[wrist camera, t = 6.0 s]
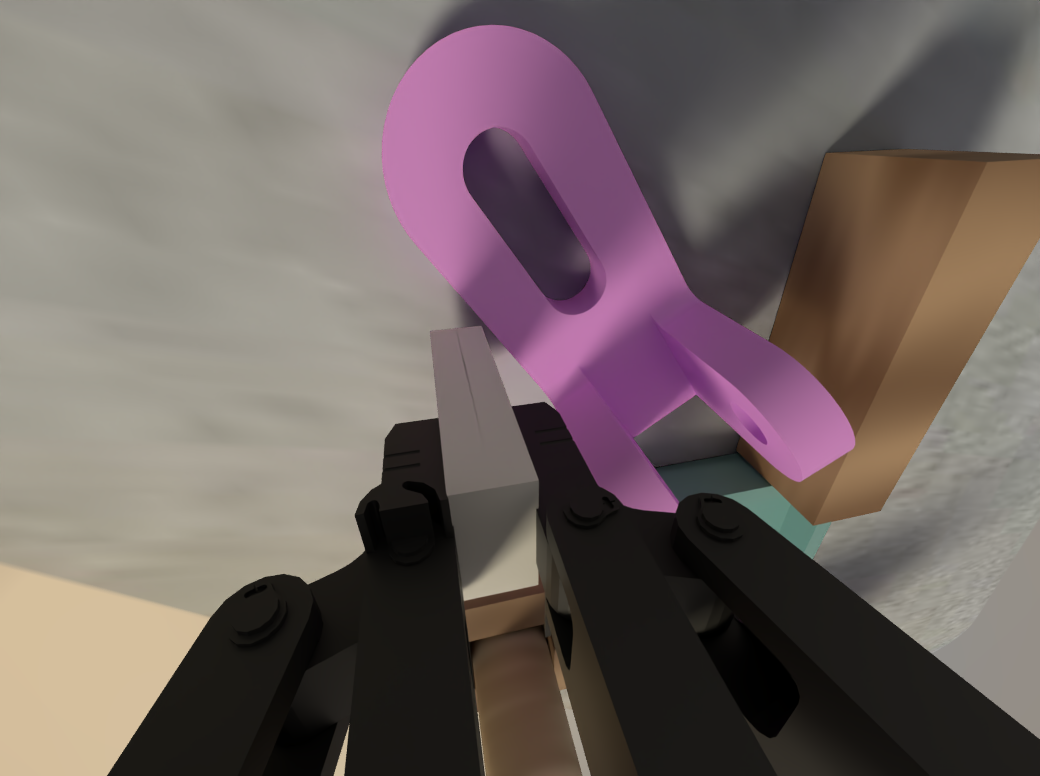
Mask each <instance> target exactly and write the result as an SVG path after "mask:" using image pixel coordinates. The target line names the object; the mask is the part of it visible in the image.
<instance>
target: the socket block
mask: <svg viewBox="0 0 1040 776" xmlns="http://www.w3.org/2000/svg"><path fill="white" fill-rule="evenodd" d="M464 607H465V615H466V622H467V629H468V637H469V645H470V654H471V662H472V671H473V679H474V688H475V696H476V705H477V712H478V703H477V695H476V686H475V678H474V669H473V661H472V652H471V644H470V641H475V640H479V639H483V638H487V637H491V636H496V635H500V634H504V633H508V632H513V631H517V630H521V629H525V628H530V627H534V626H538V625H542V626H543V630H544V634H545V627H544V617H545V591H544V588H543V585H542V581H541V578H540V574H539V571H538V585H536V586H531V587H527V588H522V589H517V590H513V591H508V592H503V593H498V594H494V595H489V596H484V597H480V598H475V599H470V600H466V601H464ZM546 641H547V645H548V649H549V652H550V656H551V660H552V664H553V667H554V671H555V675H556V679H557V682H558V686H559V690H563V689H566V685H565V681H564V677H563V674H562V670H561V667H560V663H559V660H558V656H557V652H556V649H555V645H554V642H553V638H552V635H551V636H548V637H546Z"/></svg>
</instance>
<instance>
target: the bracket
mask: <svg viewBox="0 0 1040 776" xmlns="http://www.w3.org/2000/svg"><path fill="white" fill-rule="evenodd" d="M494 127H495V128H499V129H502V130H504V131H506V132H508V133H509V134H511V135H512V136H513V137H514V138H515V139H516V141H517V142H518V143H519V145H520V147H521V148H522V150H523V151H524V153H525V155H526V156H527V158H528V160H529V161H530V163H531V164H532V166H533V168H534V169H535V171H536V172H537V174H538V176H539V177H540V179H541V181H542V182H543V184H544V185H545V187H546V189H547V190H548V192H549V193H550V195H551V197H552V198H553V200H554V202H555V203H556V205H557V206H558V208H559V210H560V211H561V213H562V214H563V216H564V218H565V219H566V221H567V223H568V224H569V226H570V227H571V229H572V231H573V232H574V234H575V235H576V237H577V239H578V240H579V242H580V243H581V245H582V247H583V248H584V250H585V252H586V253H587V255H588V257H589V260H590V265H591V271H590V276H589V279H588V282H587V284H586V285H585V287H584V288H583V289H582V290H581V291H580V292H579V293H578V294H577V295H575V296H574V297H572V298H569V299H566V300H553V299H550V298H548V297H546V296H545V295H543V293H542V292H541V291H540V289H539V288H538V286H537V285H536V284H535V282H534V281H533V280H532V278H531V277H530V276H529V274H528V273H527V271H526V270H525V269H524V267H523V266H522V265H521V263H520V262H519V261H518V259H517V258H516V256H515V255H514V254H513V252H512V251H511V250H510V248H509V247H508V246H507V244H506V243H505V241H504V240H503V239H502V237H501V236H500V235H499V233H498V232H497V231H496V229H495V228H494V226H493V225H492V224H491V222H490V221H489V220H488V218H487V217H486V216H485V214H484V213H483V211H482V210H481V209H480V207H479V206H478V205H477V203H476V202H475V201H474V199H473V198H472V196H471V195H470V193H469V192H468V190H467V188H466V185H465V182H464V178H463V160H464V156H465V153H466V150H467V148H468V146H469V144H470V143H471V142H472V140H473V139H474V138H475V137H476V136H477V135H478V134H480V133H481V132H483V131H485V130H487V129H490V128H494ZM382 164H383V173H384V179H385V185H386V188H387V192H388V195H389V199H390V201H391V204H392V206H393V209H394V211H395V213H396V215H397V217H398V219H399V221H400V223H401V225H402V226H403V228H404V229H405V231H406V233H407V234H408V235H409V237H410V238H411V239H412V240H413V242H414V243H415V244H416V245H417V247H418V248H419V249H420V250H421V251H422V252H423V253H424V255H425V256H426V257H427V258H428V259H429V260H430V261H431V263H432V264H433V265H434V266H435V267H436V268H437V269H438V271H439V272H440V273H441V274H442V275H443V276H444V277H445V279H446V280H447V281H448V282H449V283H450V284H451V286H452V287H453V288H454V289H455V290H456V291H457V292H458V294H459V295H460V296H461V297H462V298H463V299H464V300H465V302H466V303H467V304H468V305H469V306H470V307H471V308H472V310H473V311H474V312H475V313H476V314H477V315H478V316H479V318H480V319H481V320H482V321H483V322H484V323H485V324H486V326H487V327H488V328H489V329H490V330H491V331H492V333H493V334H494V335H495V336H496V337H497V338H498V339H499V341H500V342H501V343H502V344H503V345H504V346H505V347H506V349H507V350H508V351H509V352H510V353H511V354H512V355H513V357H514V358H515V359H516V360H517V361H518V362H519V363H520V365H521V366H522V367H523V368H524V369H525V370H526V371H527V373H528V374H529V375H530V376H531V377H532V378H533V380H534V381H535V382H536V383H537V384H538V385H539V386H540V388H541V389H542V390H543V391H544V392H545V394H546V395H547V396H548V398H549V399H550V400H551V402H552V403H553V405H554V407H555V408H556V410H557V411H558V412H559V413H560V415H561V417H562V419H563V421H564V423H565V424H566V426H567V429H568V430H569V432H570V434H571V436H572V438H573V441H575V443H576V445H577V447H578V449H579V451H580V453H581V454H582V456H583V458H584V460H585V462H586V464H587V466H588V468H589V470H590V471H591V473H592V475H593V477H594V479H595V481H596V483H597V484H598V486H599V487H602V488H604V489H606V490H607V491H609V492H611V493H612V494H614V495H615V496H616V497H617V498H618V499H619V500H620V502H621V503H622V504H623V505H624V506H627V507H630V508H634V509H640V510H647V511H659V512H671V513H676V510H677V507H678V504H679V501H678V500H677V498H676V497H675V496H674V494H673V493H672V491H671V490H670V489H669V487H668V486H667V484H666V483H665V482H664V480H663V479H662V478H661V476H660V475H659V473H658V472H657V471H656V469H655V468H654V466H653V465H652V464H651V462H650V461H649V459H648V458H647V457H646V455H645V454H644V452H643V451H642V450H641V448H640V447H639V446H638V444H637V443H636V441H635V440H634V439H633V438H634V437H635V436H637V435H638V434H640V433H641V432H643V431H644V430H646V429H647V428H649V427H650V426H651V425H653V424H654V423H656V422H657V421H659V420H660V419H662V418H663V417H665V416H666V415H667V414H669V413H670V412H672V411H673V410H675V409H676V408H678V407H679V406H681V405H682V404H683V403H685V402H686V401H688V400H689V399H691V398H692V397H694V396H695V395H697V396H698V397H699V398H701V399H702V400H703V401H704V402H705V403H706V404H707V405H708V406H709V407H710V408H711V409H712V410H713V411H714V412H716V413H717V414H718V415H719V416H720V417H721V418H722V419H723V420H724V421H725V422H726V423H727V424H728V425H730V426H731V427H732V428H733V429H734V430H735V431H736V432H737V433H738V434H739V435H740V436H741V437H742V438H743V439H745V440H746V441H747V442H748V443H749V444H750V445H751V446H752V447H753V448H754V449H755V450H756V451H757V452H759V453H760V454H761V455H762V456H763V457H764V458H765V459H766V460H767V461H768V462H769V463H770V464H772V465H773V466H774V467H775V468H776V469H777V470H779V471H780V472H781V473H783V474H784V475H785V476H787V477H788V478H790V479H792V480H794V481H797V482H801V481H803V480H804V479H806V478H807V477H809V476H811V475H812V474H814V473H815V472H817V471H819V470H820V469H822V468H824V467H825V466H827V465H828V464H830V463H832V462H833V461H835V460H836V459H838V458H840V457H841V456H843V455H844V454H846V453H848V452H849V451H851V450H852V449H853V448H854V446H855V436H854V433H853V430H852V428H851V425H850V423H849V421H848V419H847V418H846V416H845V414H844V413H843V411H842V410H841V408H840V407H839V405H838V404H837V403H836V401H835V400H834V399H833V397H832V396H831V395H830V394H829V392H828V391H827V390H826V389H825V388H824V387H823V386H822V384H821V383H820V382H819V381H818V380H817V379H816V378H815V377H814V376H813V375H812V374H811V373H810V372H809V371H808V370H807V369H806V368H805V367H803V366H802V365H801V364H800V363H799V362H798V361H796V360H795V359H794V358H793V357H791V356H790V355H789V354H788V353H786V352H785V351H783V350H782V349H780V348H779V347H777V346H776V345H774V344H772V343H770V342H769V341H767V340H765V339H764V338H762V337H760V336H759V335H757V334H755V333H754V332H752V331H750V330H749V329H747V328H745V327H744V326H742V325H740V324H739V323H737V322H735V321H733V320H732V319H730V318H728V317H727V316H725V315H723V314H722V313H720V312H718V311H717V310H715V309H713V308H712V307H710V306H708V305H707V304H705V303H703V302H702V301H700V300H699V299H698V298H697V297H696V296H695V295H694V294H693V293H692V292H691V290H690V289H689V288H688V286H687V284H686V282H685V280H684V278H683V276H682V274H681V272H680V270H679V268H678V266H677V264H676V262H675V260H674V258H673V256H672V254H671V251H670V249H669V247H668V245H667V243H666V241H665V239H664V237H663V235H662V233H661V231H660V229H659V227H658V225H657V223H656V221H655V219H654V217H653V215H652V212H651V210H650V208H649V206H648V204H647V202H646V200H645V198H644V196H643V194H642V192H641V190H640V188H639V186H638V184H637V182H636V180H635V178H634V176H633V174H632V171H631V169H630V167H629V165H628V163H627V161H626V159H625V157H624V155H623V153H622V151H621V149H620V147H619V145H618V143H617V141H616V139H615V137H614V135H613V133H612V130H611V128H610V126H609V124H608V122H607V120H606V118H605V116H604V114H603V112H602V110H601V108H600V106H599V104H598V102H597V100H596V98H595V96H594V94H593V92H592V90H591V88H590V86H589V84H588V83H587V81H586V79H585V78H584V76H583V75H582V73H581V72H580V71H579V69H578V68H577V67H576V66H575V64H574V63H573V62H572V61H571V60H570V59H569V58H568V57H567V56H566V55H565V54H564V53H563V52H562V51H561V50H559V49H558V48H557V47H556V46H554V45H553V44H551V43H550V42H548V41H547V40H545V39H543V38H541V37H540V36H538V35H536V34H534V33H531V32H528V31H526V30H523V29H520V28H515V27H510V26H503V25H482V26H476V27H471V28H466V29H463V30H460V31H458V32H455V33H452V34H450V35H448V36H447V37H445V38H443V39H441V40H439V41H438V42H436V43H435V44H434V45H432V46H431V47H429V48H428V49H427V50H426V51H425V52H424V53H423V54H422V55H421V56H419V57H418V58H417V59H416V61H415V62H414V63H413V64H412V65H411V67H410V68H409V69H408V70H407V72H406V73H405V75H404V76H403V78H402V80H401V81H400V83H399V85H398V87H397V89H396V91H395V93H394V95H393V97H392V100H391V103H390V106H389V108H388V111H387V116H386V120H385V124H384V131H383V138H382Z"/></svg>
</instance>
